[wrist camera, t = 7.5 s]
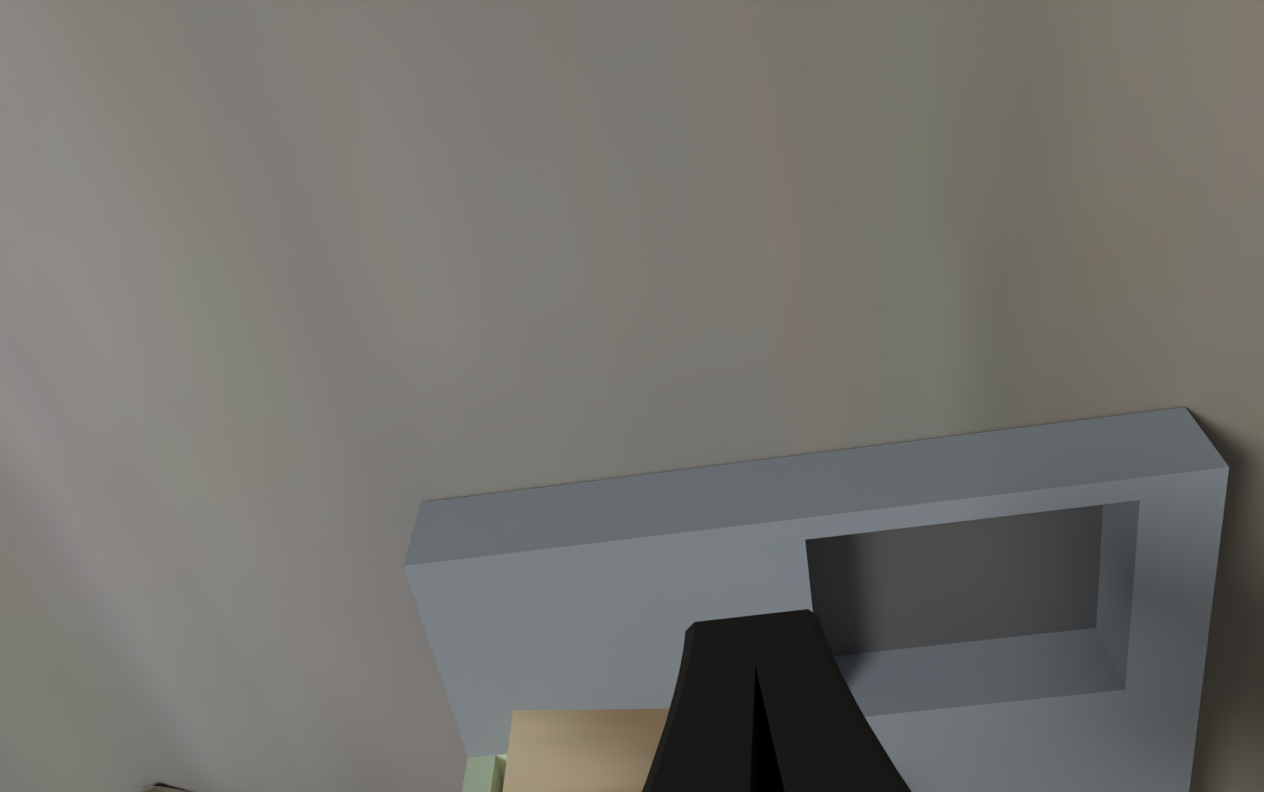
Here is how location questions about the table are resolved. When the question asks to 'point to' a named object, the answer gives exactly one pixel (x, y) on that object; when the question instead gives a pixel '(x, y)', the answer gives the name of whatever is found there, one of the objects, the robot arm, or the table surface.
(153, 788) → the washcloth
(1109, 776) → the deck
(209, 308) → the table surface
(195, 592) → the table surface
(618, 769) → the beech block
